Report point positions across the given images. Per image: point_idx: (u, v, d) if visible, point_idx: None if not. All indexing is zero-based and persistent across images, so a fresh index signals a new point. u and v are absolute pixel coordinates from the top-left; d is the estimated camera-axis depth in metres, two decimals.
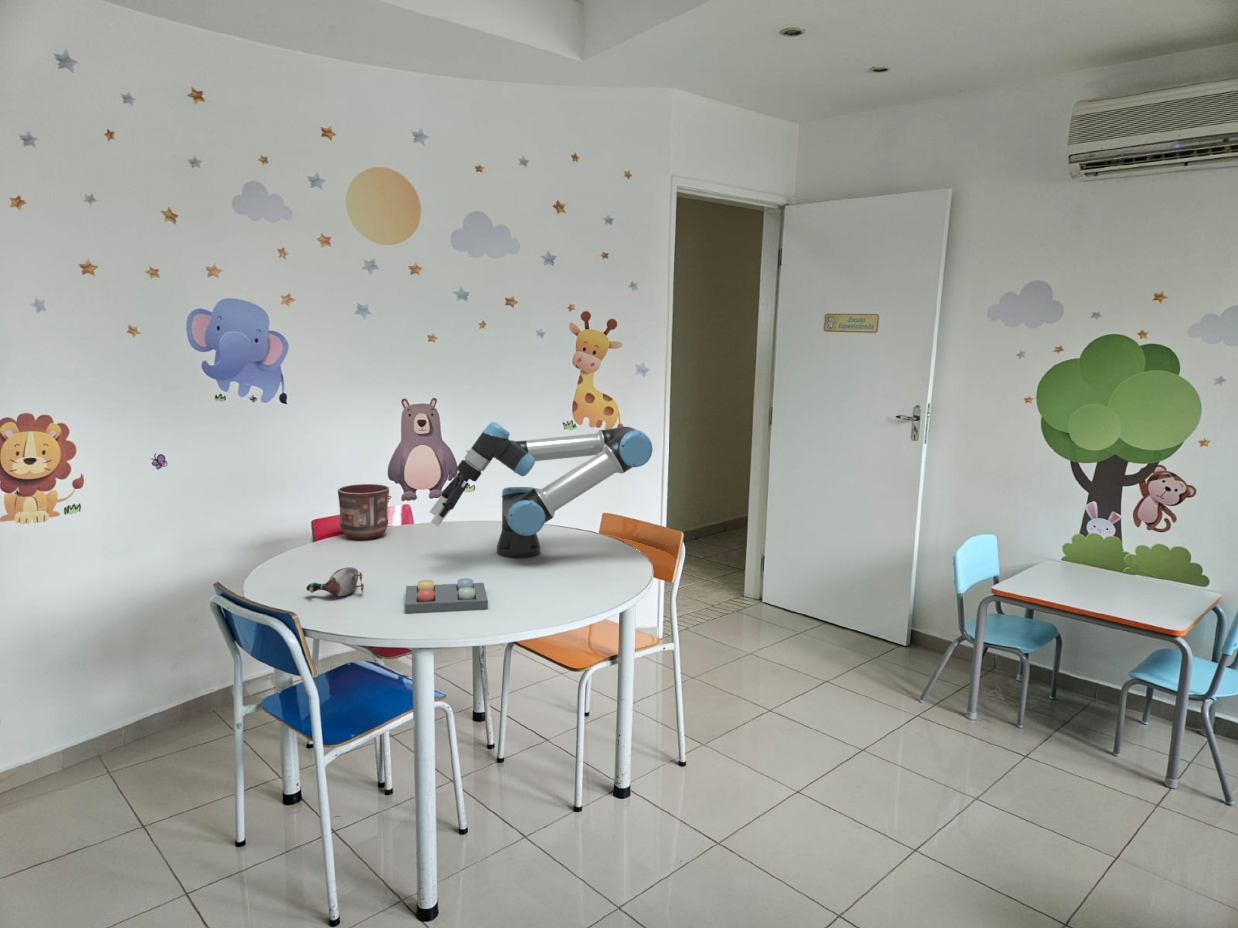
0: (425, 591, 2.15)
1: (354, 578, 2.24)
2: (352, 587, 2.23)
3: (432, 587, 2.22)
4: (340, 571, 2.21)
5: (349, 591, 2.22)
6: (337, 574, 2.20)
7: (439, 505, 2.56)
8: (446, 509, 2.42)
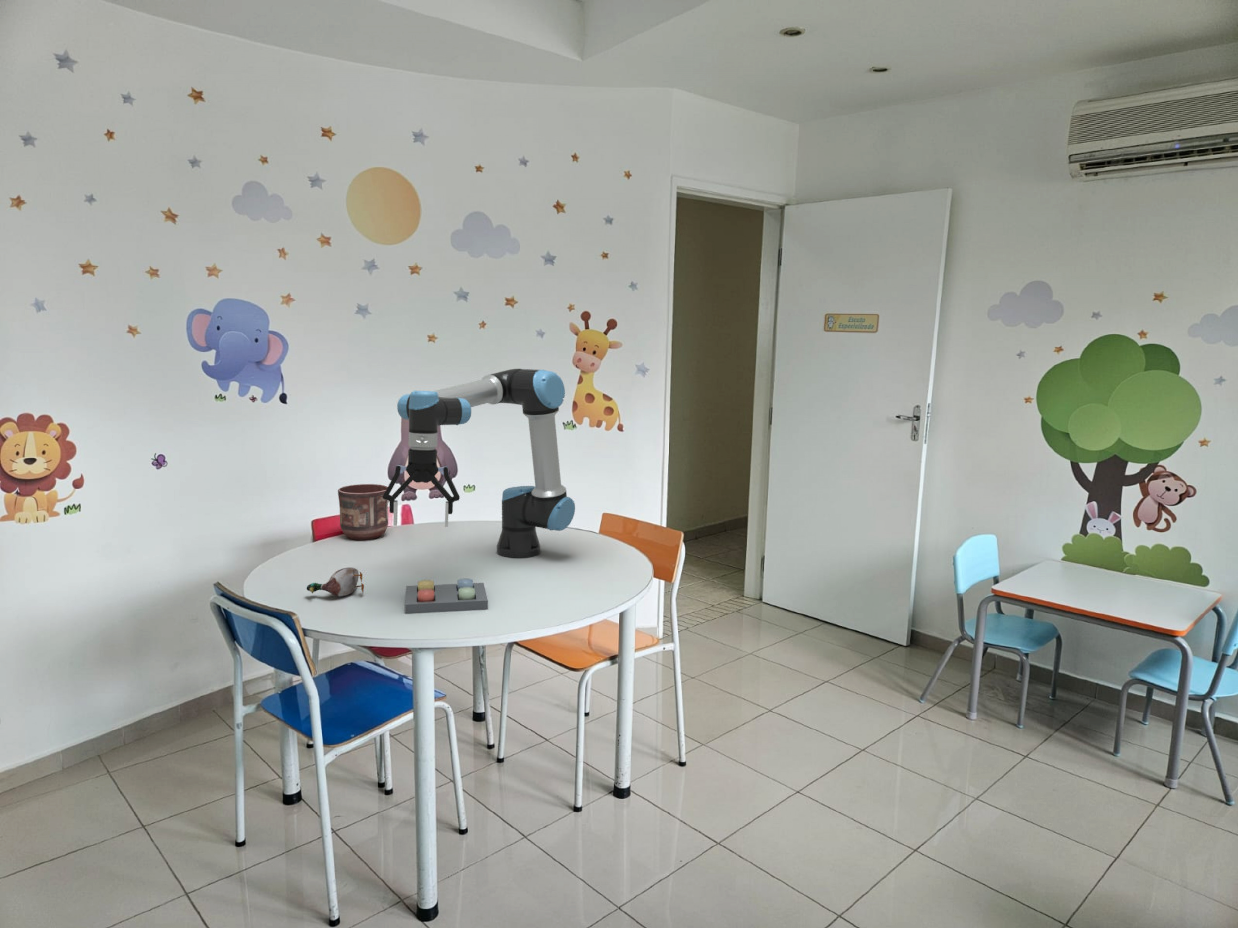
0: (425, 591, 2.15)
1: (354, 578, 2.24)
2: (352, 587, 2.23)
3: (432, 587, 2.22)
4: (340, 571, 2.21)
5: (350, 591, 2.22)
6: (338, 574, 2.20)
7: None
8: (452, 503, 2.15)
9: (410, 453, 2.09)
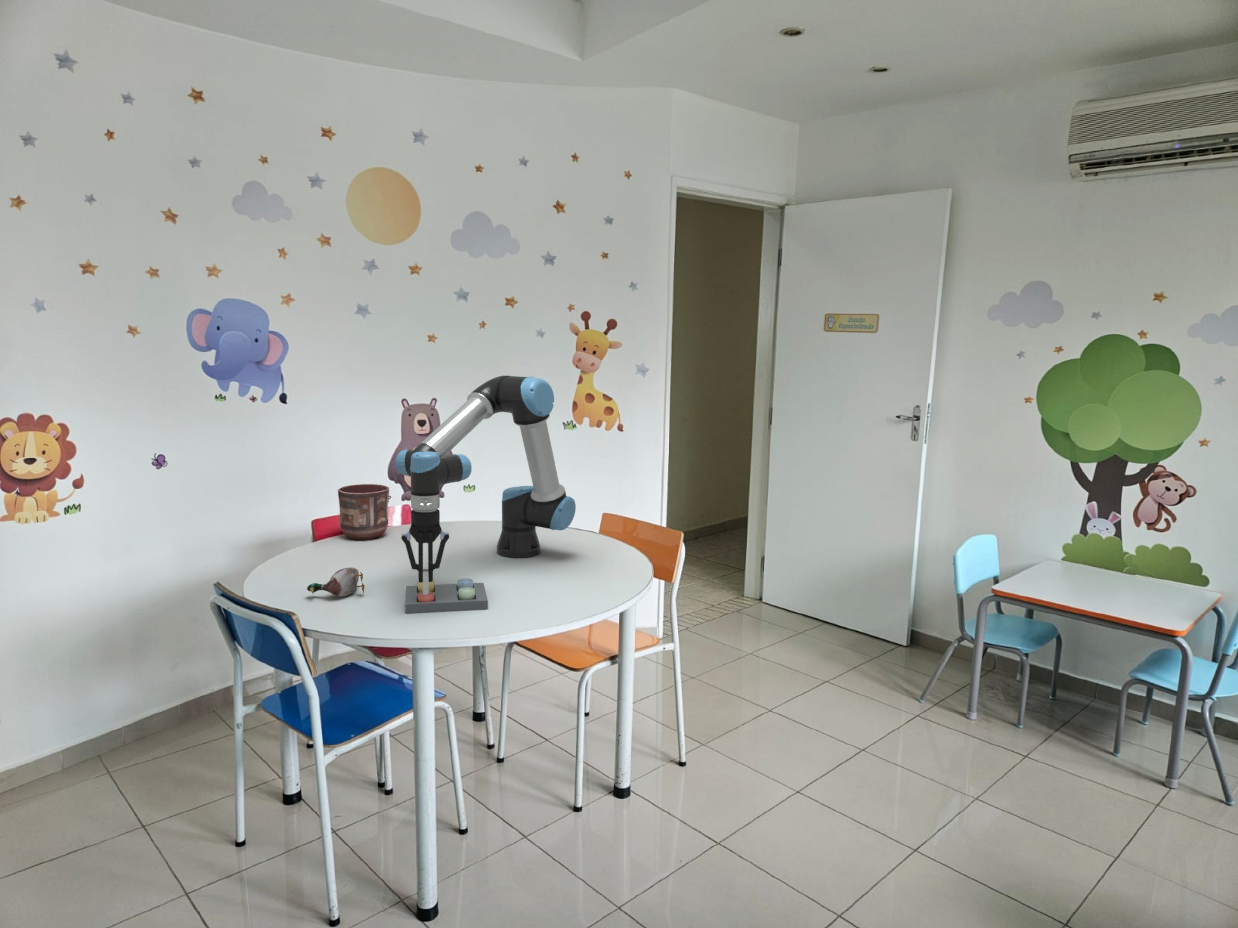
0: None
1: (355, 578, 2.24)
2: (353, 587, 2.23)
3: (432, 587, 2.22)
4: (341, 571, 2.21)
5: (350, 591, 2.22)
6: (338, 574, 2.20)
7: None
8: (432, 571, 2.14)
9: (413, 515, 2.08)
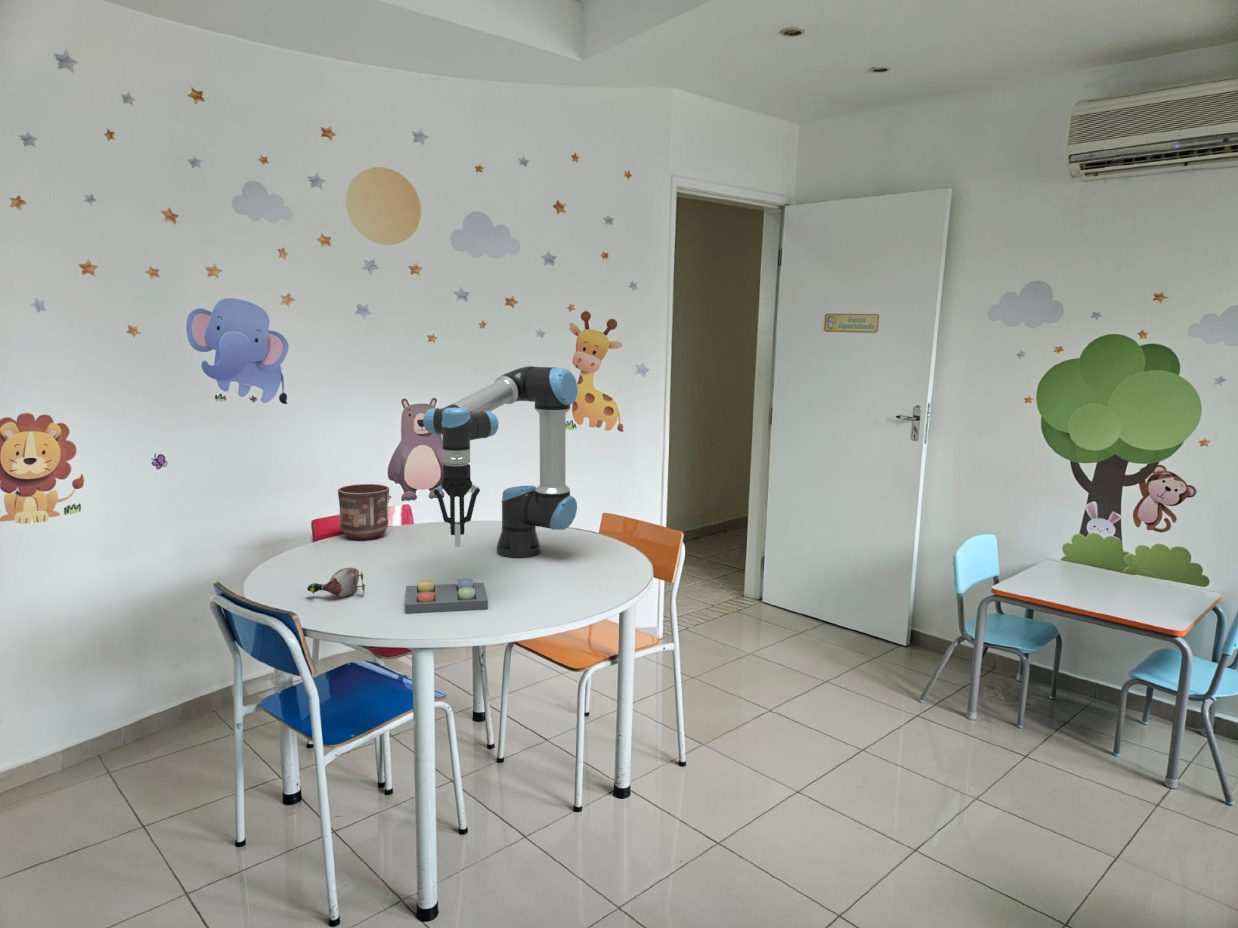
0: (425, 593, 2.15)
1: (355, 578, 2.24)
2: (353, 587, 2.22)
3: (432, 587, 2.22)
4: (341, 571, 2.21)
5: (351, 592, 2.22)
6: (339, 575, 2.19)
7: None
8: None
9: (445, 470, 2.15)
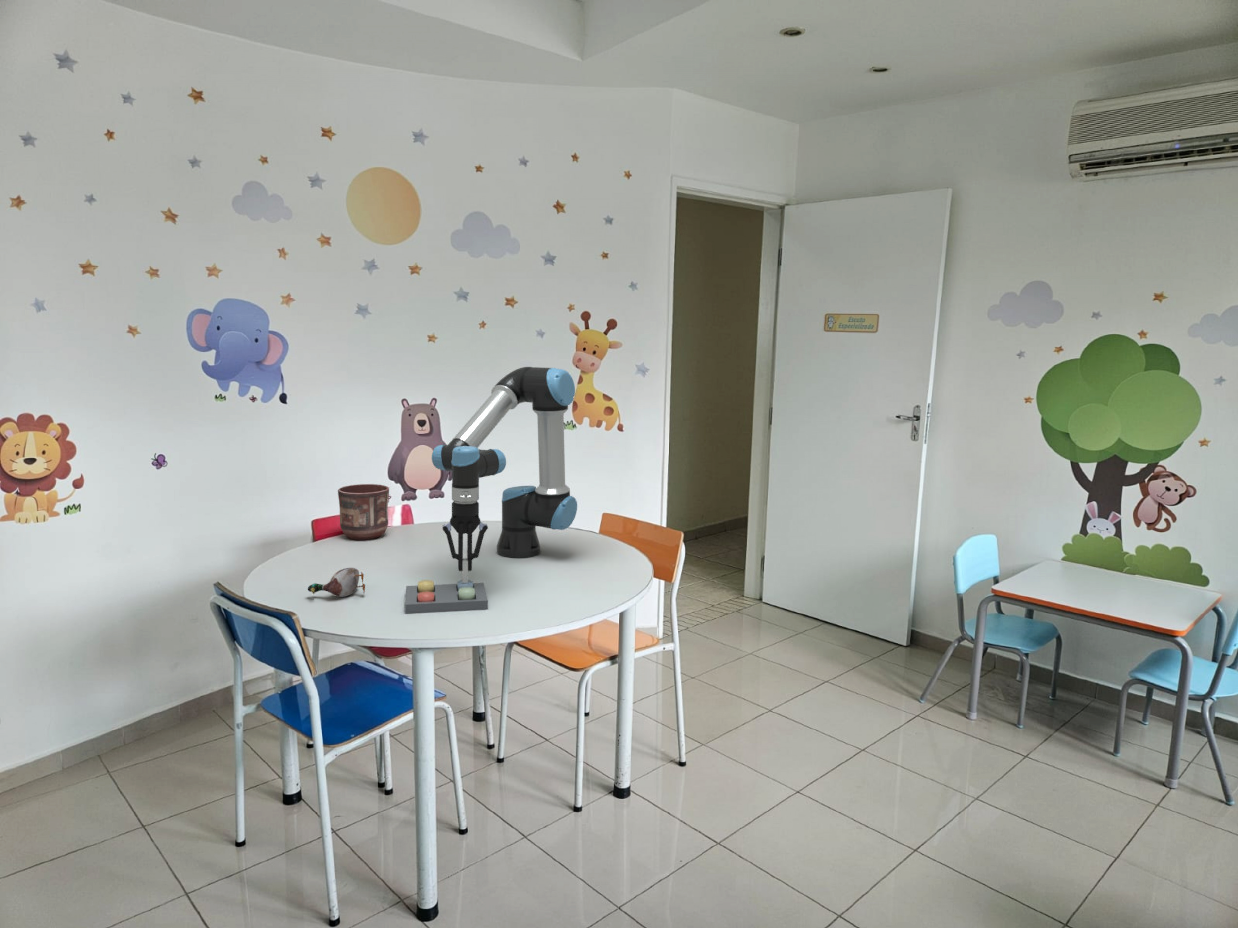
0: (425, 593, 2.15)
1: (355, 578, 2.23)
2: (353, 587, 2.22)
3: (432, 587, 2.22)
4: (341, 571, 2.21)
5: (351, 592, 2.22)
6: (339, 575, 2.19)
7: None
8: (471, 560, 2.24)
9: (454, 507, 2.19)
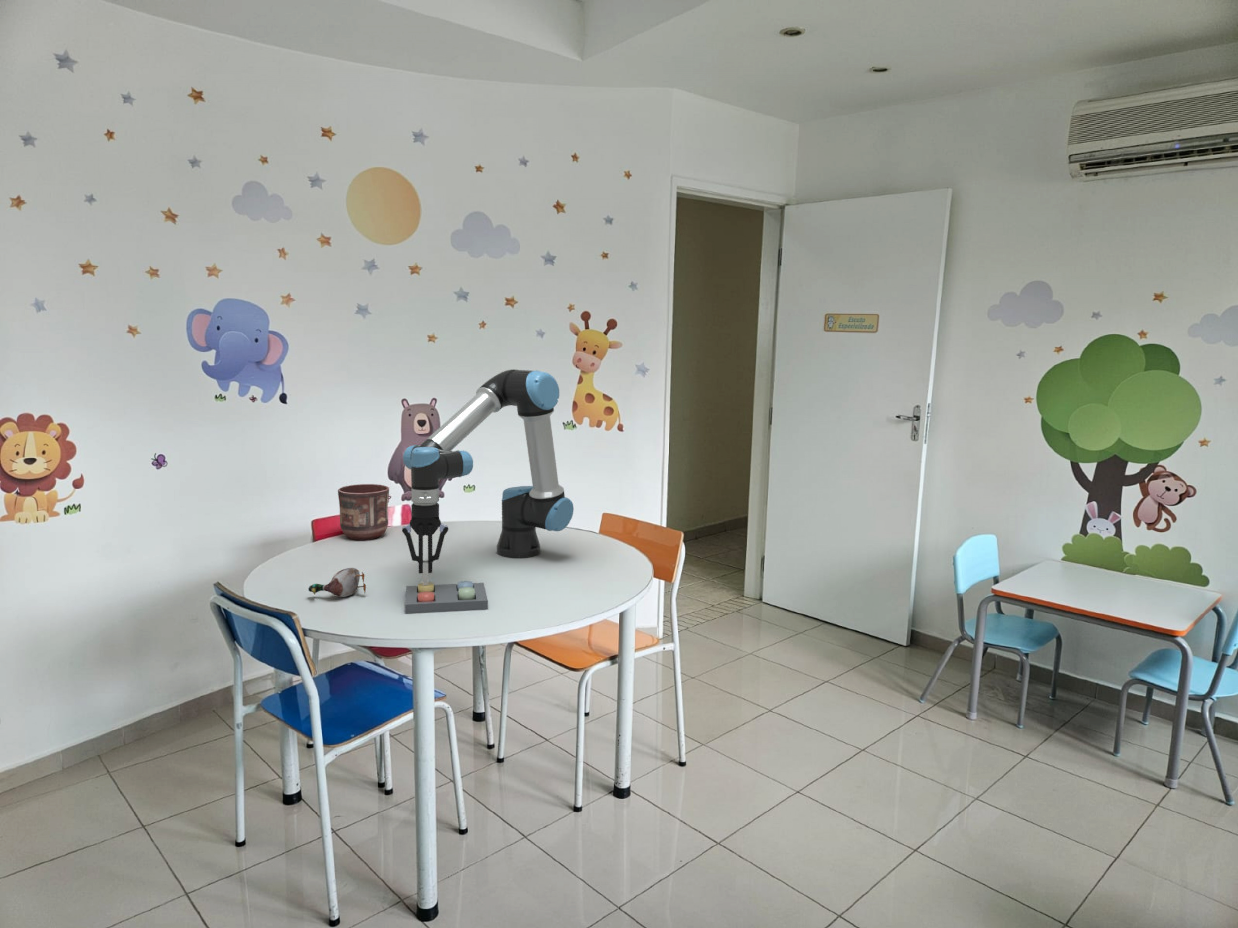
0: (425, 593, 2.15)
1: (356, 578, 2.23)
2: (354, 587, 2.22)
3: (432, 589, 2.22)
4: (342, 572, 2.21)
5: (352, 592, 2.22)
6: (340, 575, 2.19)
7: None
8: (432, 562, 2.22)
9: (414, 509, 2.16)
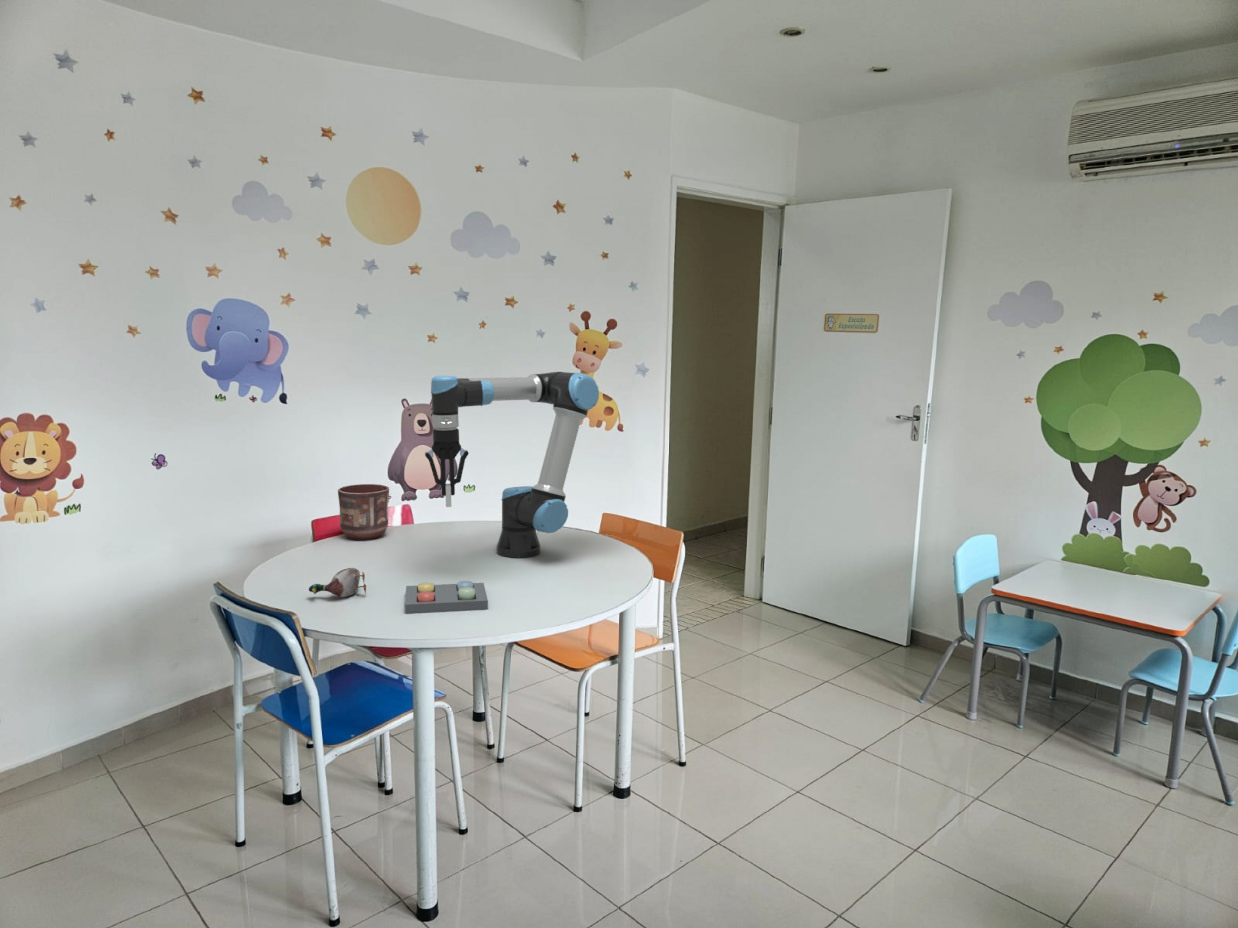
0: (425, 593, 2.15)
1: (356, 579, 2.23)
2: (355, 588, 2.22)
3: (432, 590, 2.22)
4: (343, 572, 2.21)
5: (352, 592, 2.22)
6: (340, 575, 2.19)
7: None
8: None
9: (435, 434, 2.29)
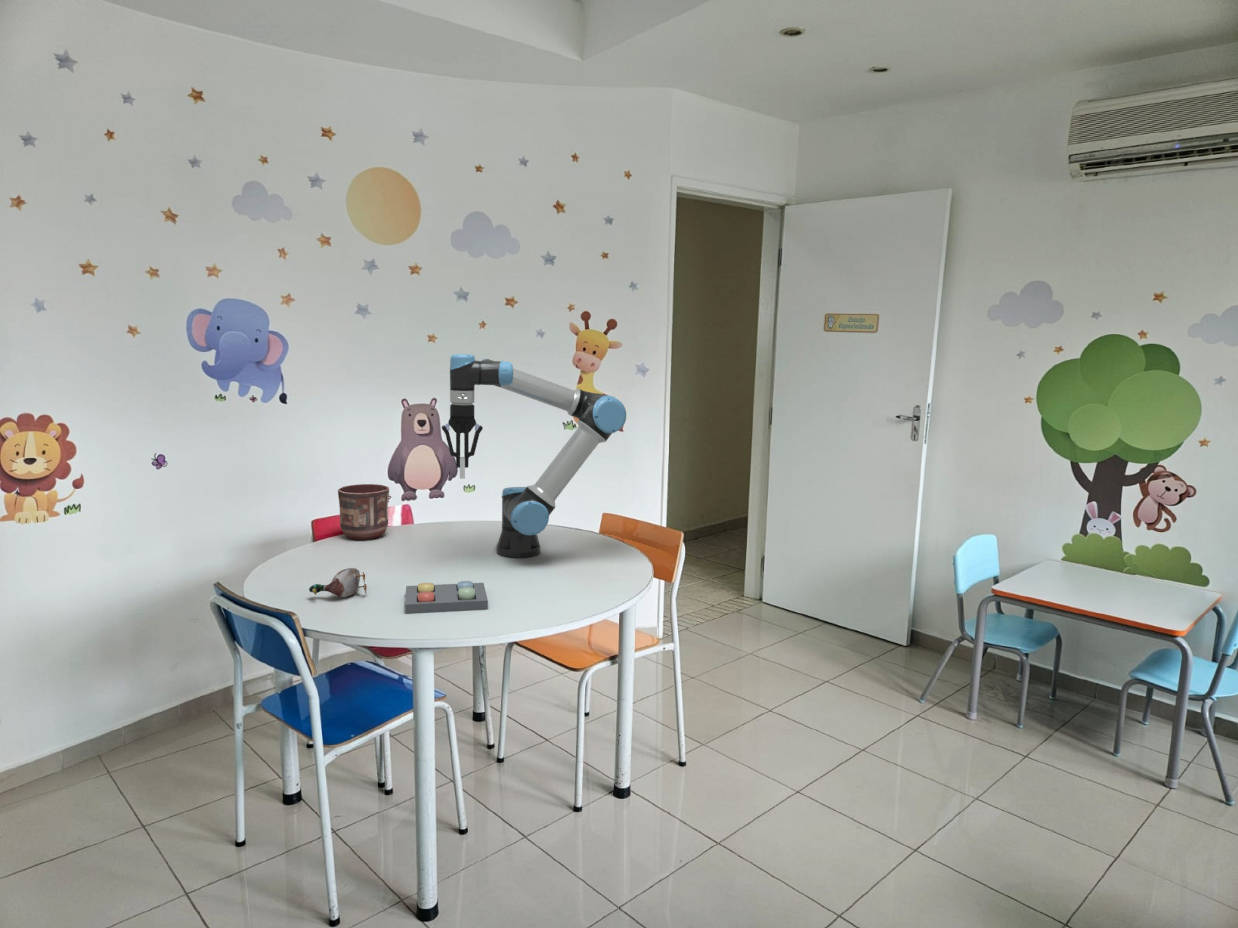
0: (425, 593, 2.15)
1: (357, 579, 2.23)
2: (355, 588, 2.22)
3: (432, 590, 2.22)
4: (343, 572, 2.21)
5: (352, 592, 2.22)
6: (341, 575, 2.19)
7: None
8: (468, 458, 2.48)
9: (452, 408, 2.42)
